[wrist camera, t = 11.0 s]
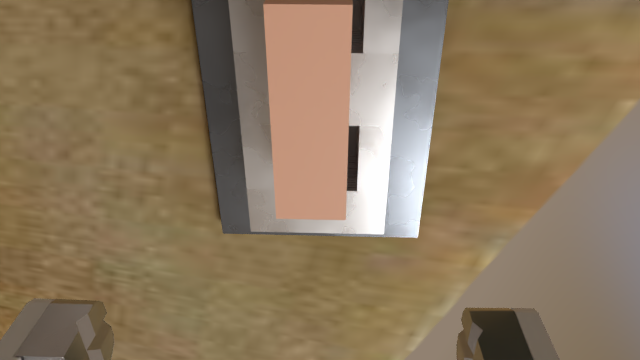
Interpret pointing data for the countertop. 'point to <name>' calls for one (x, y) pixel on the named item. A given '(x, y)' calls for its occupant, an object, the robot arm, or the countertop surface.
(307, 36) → the clip
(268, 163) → the grey slotted holder
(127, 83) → the countertop surface
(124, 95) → the countertop surface
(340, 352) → the countertop surface
